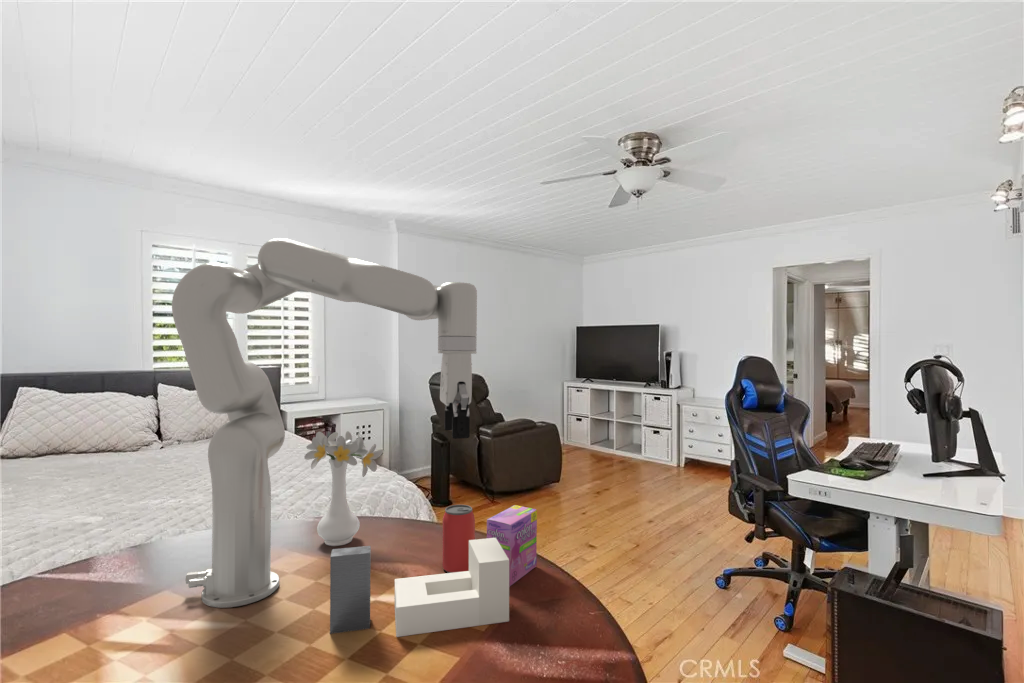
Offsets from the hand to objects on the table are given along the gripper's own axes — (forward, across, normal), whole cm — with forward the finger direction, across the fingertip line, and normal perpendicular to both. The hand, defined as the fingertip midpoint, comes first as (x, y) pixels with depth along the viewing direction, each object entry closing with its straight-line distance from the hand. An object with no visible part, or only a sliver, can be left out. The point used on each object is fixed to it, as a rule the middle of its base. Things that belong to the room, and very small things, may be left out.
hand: (456, 433), depth 98 cm
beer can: (+28, -4, +2) cm, 29 cm away
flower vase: (+28, -26, -22) cm, 44 cm away
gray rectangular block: (+28, +12, -19) cm, 36 cm away
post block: (+28, +13, -3) cm, 31 cm away
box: (+28, +1, +11) cm, 30 cm away
